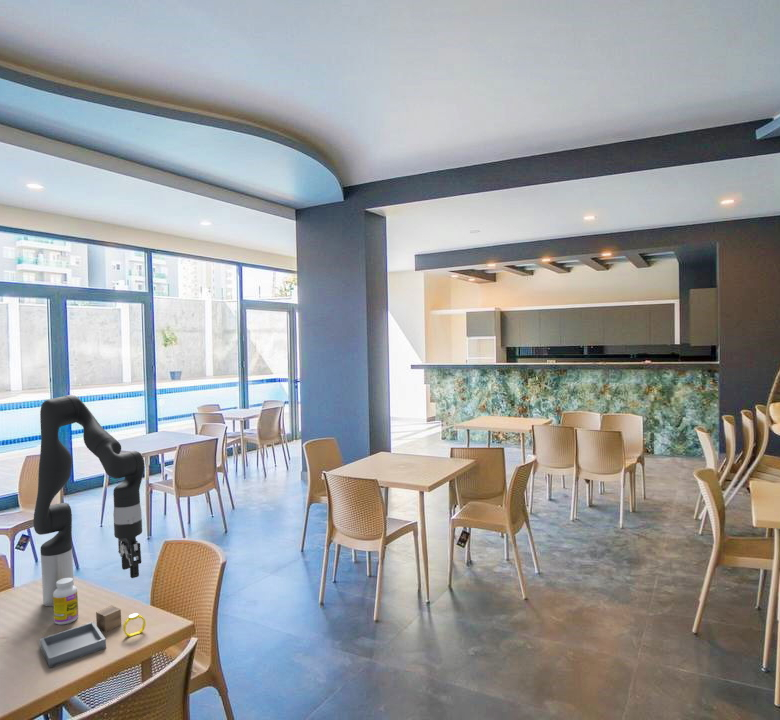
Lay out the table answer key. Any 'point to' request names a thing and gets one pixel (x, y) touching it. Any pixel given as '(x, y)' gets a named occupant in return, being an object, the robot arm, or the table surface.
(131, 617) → the watch
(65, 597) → the supplement bottle
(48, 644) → the slate tray
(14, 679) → the table surface
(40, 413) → the robot arm
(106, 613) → the walnut block
